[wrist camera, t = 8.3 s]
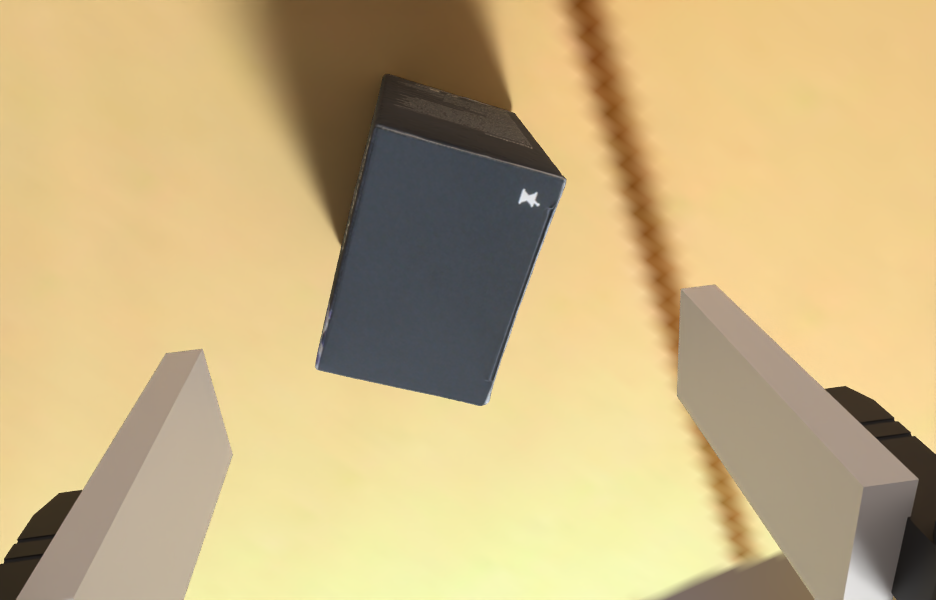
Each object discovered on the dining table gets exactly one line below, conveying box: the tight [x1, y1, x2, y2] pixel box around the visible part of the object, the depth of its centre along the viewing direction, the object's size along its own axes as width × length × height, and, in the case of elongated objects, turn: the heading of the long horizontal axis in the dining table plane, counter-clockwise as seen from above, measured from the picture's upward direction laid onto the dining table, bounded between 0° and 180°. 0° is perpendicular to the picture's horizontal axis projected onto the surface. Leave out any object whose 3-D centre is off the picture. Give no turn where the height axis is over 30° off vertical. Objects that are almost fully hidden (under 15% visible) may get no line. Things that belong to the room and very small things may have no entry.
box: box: [315, 74, 566, 406], centre depth 25 cm, size 8×6×11 cm
